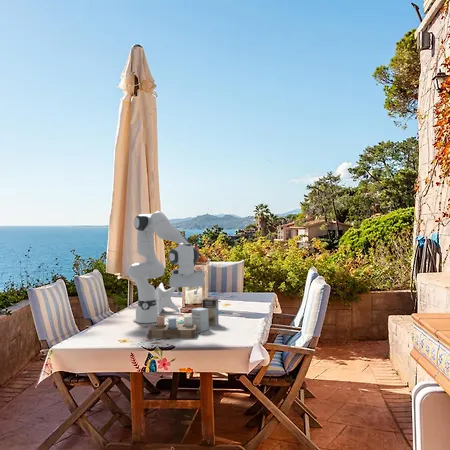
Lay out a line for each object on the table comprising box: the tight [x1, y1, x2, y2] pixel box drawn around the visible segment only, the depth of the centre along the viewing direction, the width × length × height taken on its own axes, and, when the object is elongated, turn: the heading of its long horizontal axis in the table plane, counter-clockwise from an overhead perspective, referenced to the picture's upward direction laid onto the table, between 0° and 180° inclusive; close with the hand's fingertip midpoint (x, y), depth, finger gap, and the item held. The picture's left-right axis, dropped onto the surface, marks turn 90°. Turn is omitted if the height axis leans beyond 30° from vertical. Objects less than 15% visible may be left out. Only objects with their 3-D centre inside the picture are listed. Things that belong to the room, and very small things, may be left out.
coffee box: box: [201, 298, 220, 327], centre depth 312 cm, size 9×6×16 cm
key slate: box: [167, 317, 178, 330], centre depth 281 cm, size 5×5×6 cm
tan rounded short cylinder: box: [156, 315, 166, 327], centre depth 289 cm, size 5×5×6 cm
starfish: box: [155, 282, 180, 315], centre depth 364 cm, size 20×20×20 cm
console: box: [147, 324, 199, 339], centre depth 285 cm, size 15×26×4 cm, turn 87°
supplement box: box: [191, 307, 210, 333], centre depth 297 cm, size 7×7×13 cm
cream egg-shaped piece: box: [183, 315, 192, 327], centre depth 288 cm, size 5×5×6 cm
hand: (187, 294), depth 288 cm, fingers open, 8 cm apart
